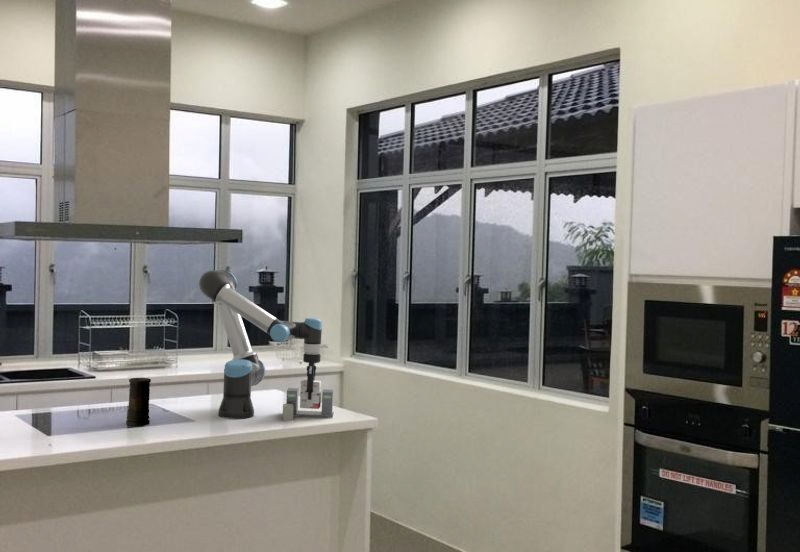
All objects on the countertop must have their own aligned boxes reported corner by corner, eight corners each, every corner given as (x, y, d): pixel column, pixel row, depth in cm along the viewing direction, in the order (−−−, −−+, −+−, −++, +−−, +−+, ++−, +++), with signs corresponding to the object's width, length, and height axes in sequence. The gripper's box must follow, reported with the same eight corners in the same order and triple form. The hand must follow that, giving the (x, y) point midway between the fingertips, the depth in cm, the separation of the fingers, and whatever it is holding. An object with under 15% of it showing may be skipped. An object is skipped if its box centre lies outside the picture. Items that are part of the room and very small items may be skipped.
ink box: (320, 406, 353) (321, 380, 353) (318, 409, 348) (319, 382, 348) (301, 405, 354) (302, 379, 353) (299, 408, 349) (300, 381, 348)
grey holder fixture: (284, 415, 347) (285, 390, 346) (286, 412, 355) (287, 387, 354) (332, 417, 347) (333, 392, 347) (333, 414, 355) (334, 389, 355)
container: (125, 421, 320) (127, 377, 320) (149, 421, 323) (150, 377, 323) (126, 426, 312) (128, 381, 311) (150, 425, 315) (152, 380, 314)
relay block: (283, 420, 337) (284, 406, 337) (282, 417, 343) (283, 403, 343) (292, 420, 338) (293, 406, 338) (291, 417, 344) (292, 403, 344)
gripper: (319, 356, 341) (317, 409, 342) (321, 351, 360) (319, 402, 360) (301, 355, 341) (299, 409, 342) (305, 350, 359) (303, 401, 360)
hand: (309, 405), depth 351 cm, fingers closed on ink box, 5 cm apart
